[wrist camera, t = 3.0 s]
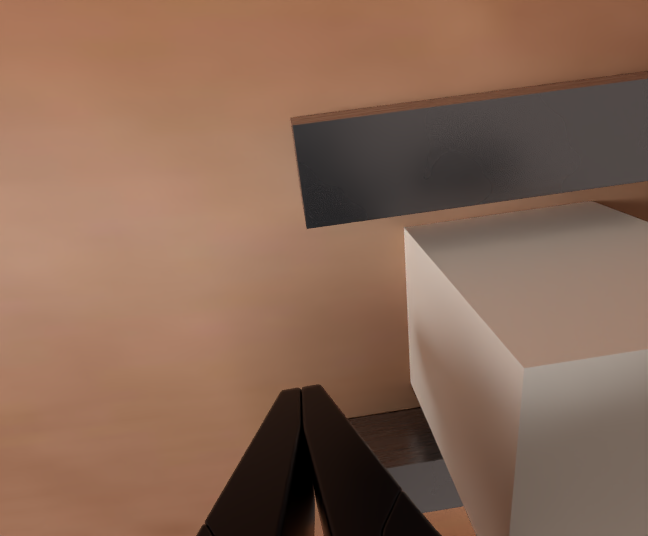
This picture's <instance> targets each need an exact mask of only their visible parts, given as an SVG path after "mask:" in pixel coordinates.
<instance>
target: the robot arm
mask: <svg viewBox="0 0 648 536" xmlns="http://www.w3.org/2000/svg"><path fill="white" fill-rule="evenodd" d="M314 491H315V496H314ZM315 497H316V502H317V507H318V512H319V516H320V521H321V525H322V529H323V534H324V536H441V535H440V534H439V532H438V531H437V530H436V529H435V528H434V527H433V526H432V525H431V523H430V522H429V521H428V520H427V519H426V517H425V516H424V515H423V514H422V513H421V511H420V510H419V509H418V508H417V507H416V505H415V504H414V503H413V502H412V500H411V499H410V498H409V496H408V495H407V494H406V493H405V492H404V491H402V488H401V487H400V485H399V484H398V483H397V481H396V480H395V479H394V478H393V476H392V475H391V474H390V473H389V471H388V470H387V469H386V467H385V466H384V465H383V464H382V462H381V461H380V460H379V459H378V457H377V456H376V455H375V453H374V452H373V451H372V450H371V448H370V447H369V446H368V445H367V443H366V442H365V441H364V439H363V438H362V437H361V436H360V434H359V433H358V432H357V430H356V429H355V428H354V427H353V425H352V424H351V423H350V422H349V420H348V419H347V418H346V416H345V415H344V414H343V413H342V411H341V410H340V409H339V408H338V406H337V405H336V404H335V402H334V401H333V400H332V399H331V397H330V396H329V395H328V394H327V392H326V391H325V390H324V388H323V387H322V386H321V385H312V386H306V387H303V388H302V390H301V389H300V388H293V389H286V390H282V391H281V392H280V394H279V396H278V397H277V399H276V401H275V402H274V404H273V406H272V408H271V409H270V411H269V413H268V414H267V416H266V418H265V420H264V421H263V423H262V425H261V426H260V428H259V430H258V431H257V433H256V435H255V437H254V438H253V440H252V442H251V443H250V445H249V447H248V449H247V450H246V452H245V454H244V455H243V457H242V459H241V461H240V462H239V464H238V466H237V467H236V469H235V471H234V472H233V474H232V476H231V478H230V479H229V481H228V483H227V484H226V486H225V488H224V490H223V491H222V493H221V495H220V496H219V498H218V500H217V502H216V503H215V505H214V507H213V508H212V510H211V512H210V513H209V515H208V517H207V519H206V520H205V524H204V525H202V527H201V528H200V530H199V532H198V534H197V535H196V536H314V524H315Z"/></svg>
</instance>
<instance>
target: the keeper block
mask: <svg viewBox="0 0 648 536" xmlns="http://www.w3.org/2000/svg"><path fill="white" fill-rule="evenodd" d="M404 241H405V264H406V288H407V311H408V334H409V357H410V380H411V385H412V387H413V389H414V392H415V394H416V396H417V399H418V401H419V403H420V406H421V408H422V410H423V413H424V415H425V417H426V420H427V422H428V424H429V427H430V429H431V431H432V434H433V436H434V438H435V440H436V443H437V445H438V447H439V450H440V452H441V454H442V457H443V459H444V461H445V464H446V466H447V468H448V471H449V473H450V475H451V478H452V480H453V482H454V485H455V487H456V489H457V492H458V494H459V496H460V499H461V501H462V503H463V505H464V508H465V510H466V512H467V515H468V517H469V519H470V522H471V524H472V526H473V529H474V531H475V533H476V536H648V222H647V221H644V220H641V219H639V218H636V217H633V216H631V215H628V214H625V213H623V212H620V211H617V210H615V209H612V208H609V207H607V206H604V205H601V204H599V203H596V202H593V201H587V202H580V203H573V204H565V205H558V206H551V207H544V208H537V209H530V210H523V211H516V212H509V213H502V214H495V215H488V216H481V217H474V218H467V219H460V220H453V221H445V222H438V223H431V224H424V225H417V226H410V227H404Z"/></svg>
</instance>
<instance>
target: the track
mask: <svg viewBox="0 0 648 536" xmlns="http://www.w3.org/2000/svg"><path fill="white" fill-rule="evenodd" d="M291 125H292V133H293V140H294V147H295V154H296V161H297V168H298V175H299V182H300V189H301V196H302V203H303V209H304V215H305V221H306V227H307V229H309V228H316V227H323V226H330V225H337V224H344V223H351V222H358V221H365V220H373V219H380V218H387V217H394V216H401V215H408V214H415V213H422V212H429V211H437V210H444V209H451V208H458V207H465V206H472V205H479V204H486V203H493V202H501V201H508V200H515V199H522V198H529V197H536V196H543V195H550V194H557V193H564V192H572V191H579V190H586V189H593V188H600V187H607V186H614V185H621V184H628V183H636V182H643V181H648V71H644V72H637V73H629V74H621V75H614V76H606V77H598V78H591V79H583V80H575V81H568V82H560V83H553V84H545V85H537V86H530V87H522V88H514V89H507V90H499V91H492V92H484V93H476V94H469V95H461V96H453V97H446V98H438V99H430V100H423V101H415V102H408V103H400V104H392V105H385V106H377V107H369V108H362V109H354V110H346V111H339V112H331V113H324V114H316V115H308V116H301V117H293V118H291ZM348 420H349V422H350V423H351V424H352V425H353V427H354V428H355V429H356V430H357V432H358V433H359V434H360V436H361V437H362V438H363V439H364V441H365V442H366V443H367V445H368V446H369V447H370V448H371V450H372V451H373V452H374V453H375V455H376V456H377V457H378V459H379V460H380V461H381V462H382V464H383V465H384V466H385V467H386V469H387V470H388V471H389V473H390V474H391V475H392V476H393V478H394V479H395V480H396V481H397V483H398V484H399V485H400V487H401V488H402V491H404V492H405V493H406V494H407V495H408V496H409V498H410V499H411V500H412V502H413V503H414V504H415V505H416V507H417V508H418V509H419V510H420V511H421V513H425V512H431V511H437V510H443V509H449V508H455V507H461V506H464V505H463V503H462V501H461V499H460V496H459V494H458V492H457V489H456V487H455V485H454V482H453V480H452V478H451V475H450V473H449V471H448V468H447V466H446V464H445V461H444V459H443V457H442V454H441V452H440V450H439V447H438V445H437V443H436V440H435V438H434V436H433V434H432V431H431V429H430V427H429V424H428V422H427V420H426V417H425V415H424V413H423V410H422V408H417V409H411V410H404V411H398V412H391V413H385V414H379V415H372V416H366V417H360V418H353V419H348Z"/></svg>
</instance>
